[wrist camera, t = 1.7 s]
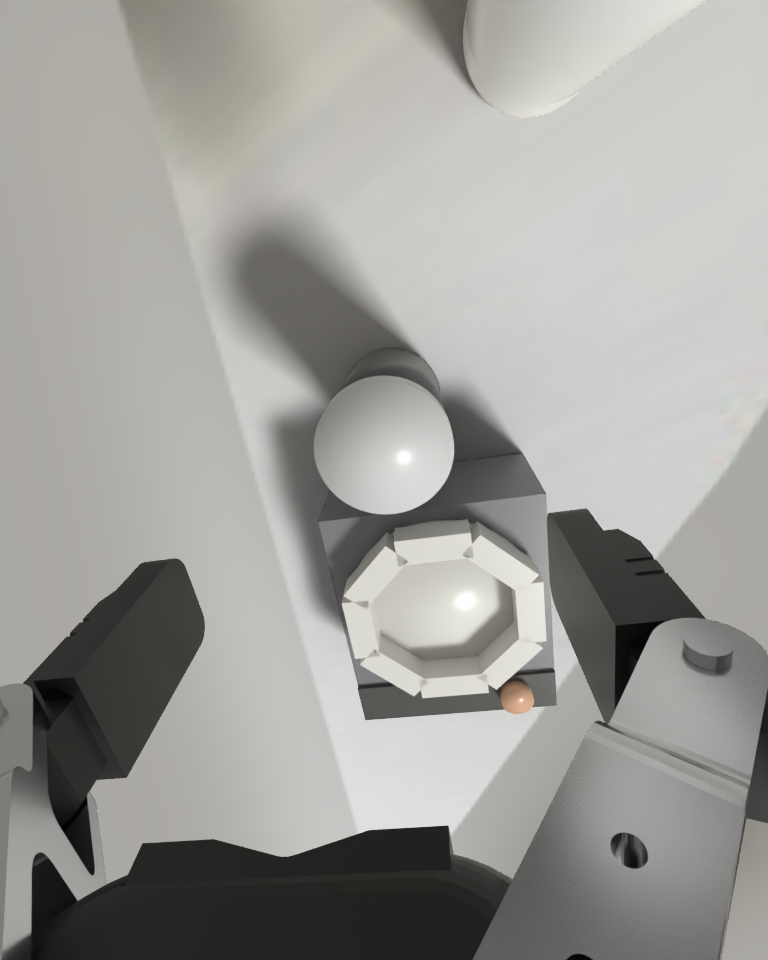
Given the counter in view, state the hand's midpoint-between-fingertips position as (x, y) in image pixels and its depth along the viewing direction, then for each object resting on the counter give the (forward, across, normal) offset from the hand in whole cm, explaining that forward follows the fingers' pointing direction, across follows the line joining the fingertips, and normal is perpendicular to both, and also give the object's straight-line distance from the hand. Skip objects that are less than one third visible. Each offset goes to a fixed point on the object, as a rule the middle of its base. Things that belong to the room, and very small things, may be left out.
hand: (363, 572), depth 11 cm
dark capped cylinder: (+15, 0, 0) cm, 16 cm away
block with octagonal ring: (+15, -1, +10) cm, 18 cm away
